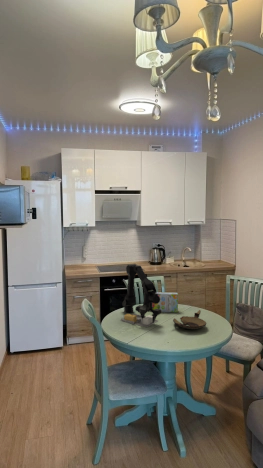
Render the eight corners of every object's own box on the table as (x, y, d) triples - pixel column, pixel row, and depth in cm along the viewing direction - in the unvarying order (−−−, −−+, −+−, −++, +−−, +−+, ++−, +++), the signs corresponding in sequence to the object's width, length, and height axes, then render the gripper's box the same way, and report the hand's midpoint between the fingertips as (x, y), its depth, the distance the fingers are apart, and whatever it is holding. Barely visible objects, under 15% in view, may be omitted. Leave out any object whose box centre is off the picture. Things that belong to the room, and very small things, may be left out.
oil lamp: (165, 326, 220) (165, 315, 220) (195, 318, 238) (195, 308, 237) (188, 336, 202) (189, 325, 202) (219, 327, 220) (219, 316, 219)
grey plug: (142, 323, 221) (142, 318, 221) (149, 320, 229) (149, 314, 228) (147, 324, 219) (147, 319, 219) (154, 321, 226) (154, 315, 226)
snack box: (177, 310, 256) (177, 292, 255) (177, 312, 251) (178, 294, 250) (151, 309, 258) (151, 291, 257) (151, 311, 253) (151, 293, 252)
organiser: (120, 322, 228) (120, 318, 228) (132, 316, 241) (132, 313, 241) (147, 329, 215) (147, 325, 214) (158, 322, 228) (158, 319, 227)
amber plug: (133, 322, 223) (133, 317, 223) (123, 320, 228) (123, 314, 228) (136, 321, 226) (136, 315, 226) (126, 318, 232) (126, 313, 231)
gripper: (131, 300, 221) (131, 322, 222) (153, 305, 210) (153, 328, 211) (139, 297, 230) (139, 318, 231) (162, 301, 219) (161, 323, 220)
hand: (148, 321), depth 223 cm, fingers open, 8 cm apart
